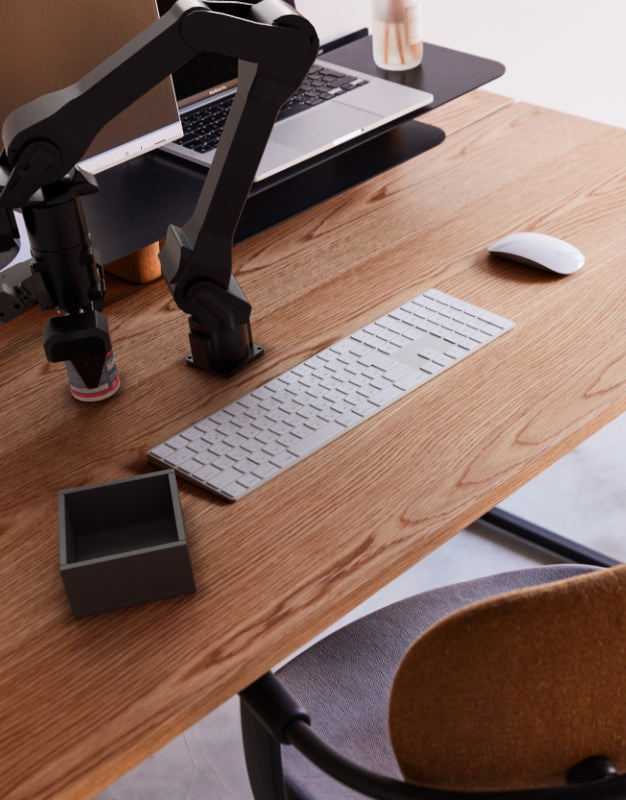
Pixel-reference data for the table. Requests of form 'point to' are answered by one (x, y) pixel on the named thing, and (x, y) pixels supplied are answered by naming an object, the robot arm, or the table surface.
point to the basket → (123, 543)
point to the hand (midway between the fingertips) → (91, 369)
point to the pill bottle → (106, 385)
